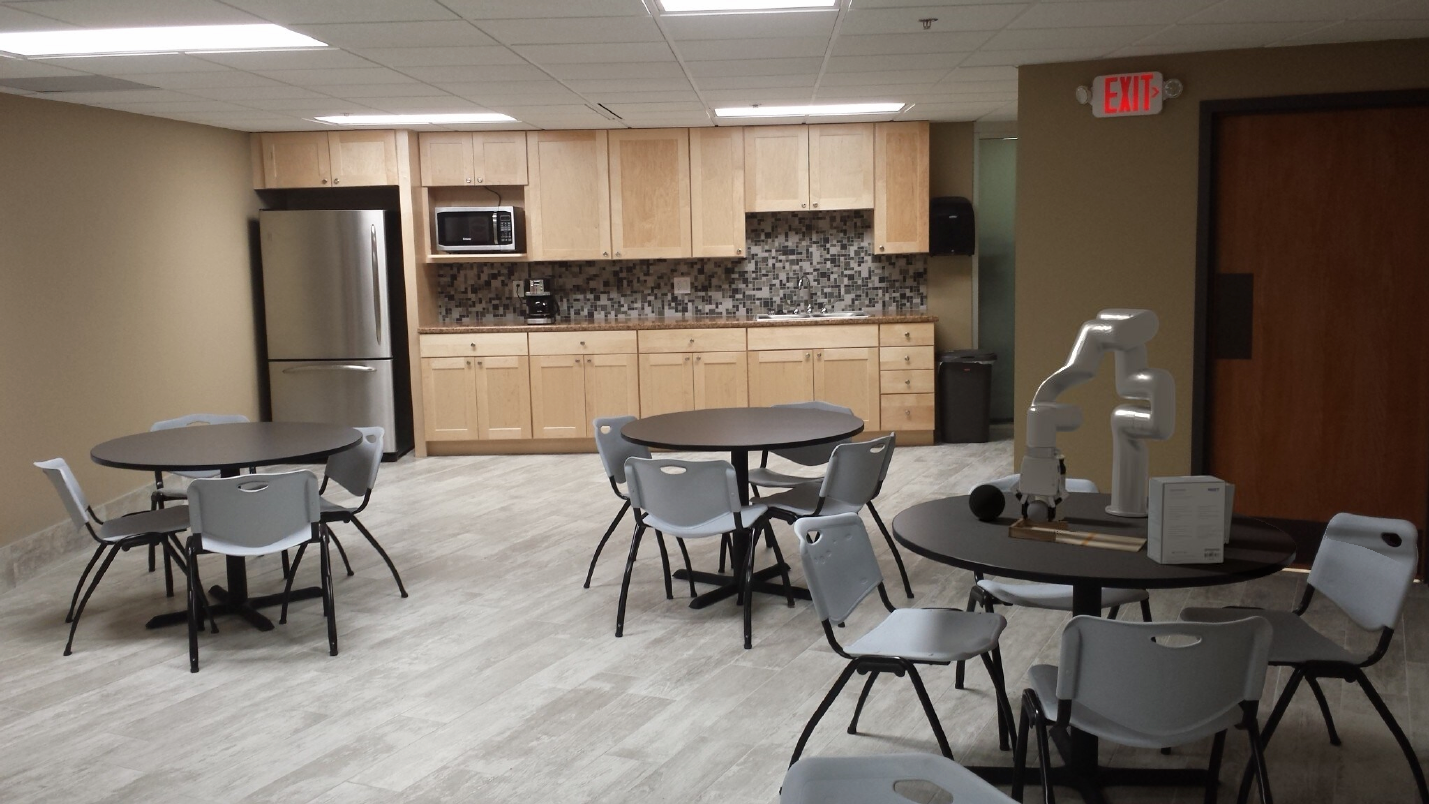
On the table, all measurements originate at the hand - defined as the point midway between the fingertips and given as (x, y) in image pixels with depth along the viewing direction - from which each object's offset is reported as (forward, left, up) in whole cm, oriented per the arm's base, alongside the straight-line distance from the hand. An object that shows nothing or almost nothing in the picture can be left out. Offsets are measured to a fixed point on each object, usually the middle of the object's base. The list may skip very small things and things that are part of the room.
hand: (1038, 519), depth 285 cm
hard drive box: (+9, +37, -4) cm, 38 cm away
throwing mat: (0, +10, -4) cm, 11 cm away
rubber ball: (0, 0, +2) cm, 2 cm away
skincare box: (-14, +40, -4) cm, 43 cm away
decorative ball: (-10, -17, -4) cm, 20 cm away
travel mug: (-20, -2, -4) cm, 21 cm away
